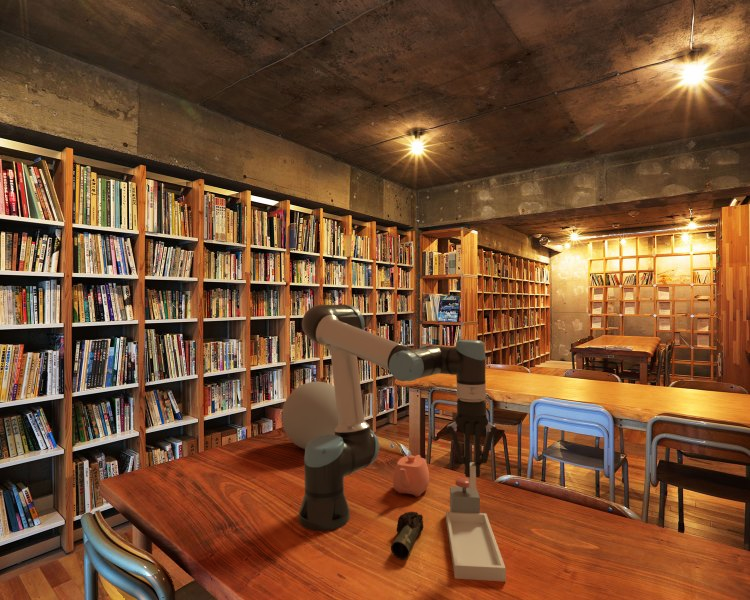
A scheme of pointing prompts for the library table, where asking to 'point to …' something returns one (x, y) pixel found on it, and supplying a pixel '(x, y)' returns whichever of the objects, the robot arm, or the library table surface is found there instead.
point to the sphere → (310, 413)
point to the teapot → (411, 475)
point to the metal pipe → (406, 534)
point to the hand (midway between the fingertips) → (472, 488)
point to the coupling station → (472, 537)
